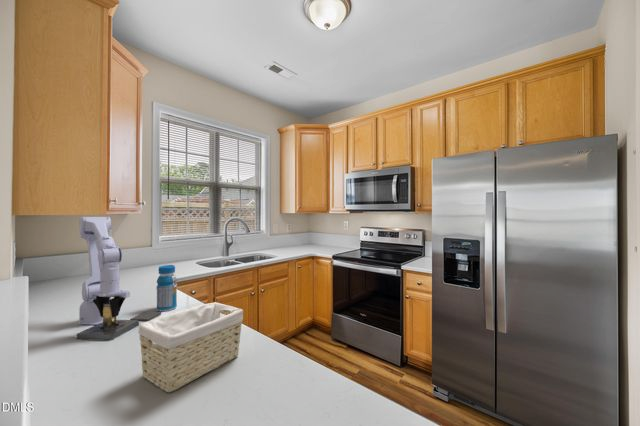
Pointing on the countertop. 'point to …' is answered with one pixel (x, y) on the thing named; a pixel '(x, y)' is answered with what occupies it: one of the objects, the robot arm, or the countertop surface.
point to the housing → (107, 330)
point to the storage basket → (189, 344)
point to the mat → (146, 316)
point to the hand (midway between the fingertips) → (109, 316)
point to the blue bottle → (166, 288)
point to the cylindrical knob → (108, 315)
